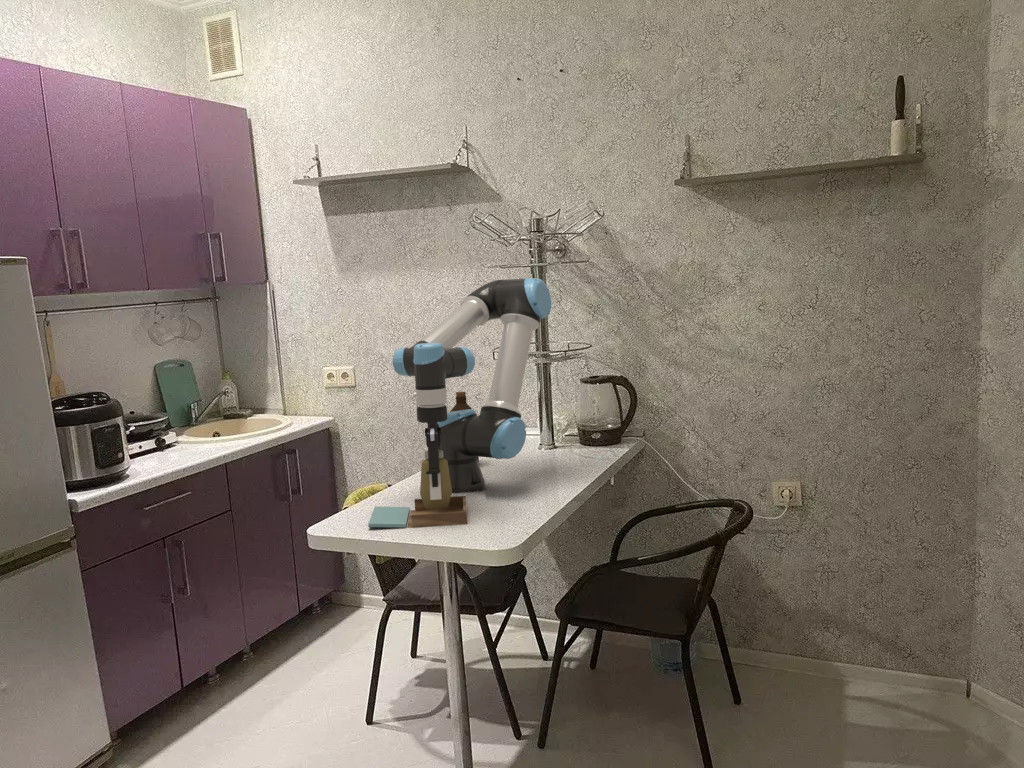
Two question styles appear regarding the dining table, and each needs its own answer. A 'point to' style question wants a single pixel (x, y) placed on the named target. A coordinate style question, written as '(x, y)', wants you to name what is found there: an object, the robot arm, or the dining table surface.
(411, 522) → the crate
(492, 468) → the dining table surface
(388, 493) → the dining table surface
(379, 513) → the panel
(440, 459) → the squeeze bottle
